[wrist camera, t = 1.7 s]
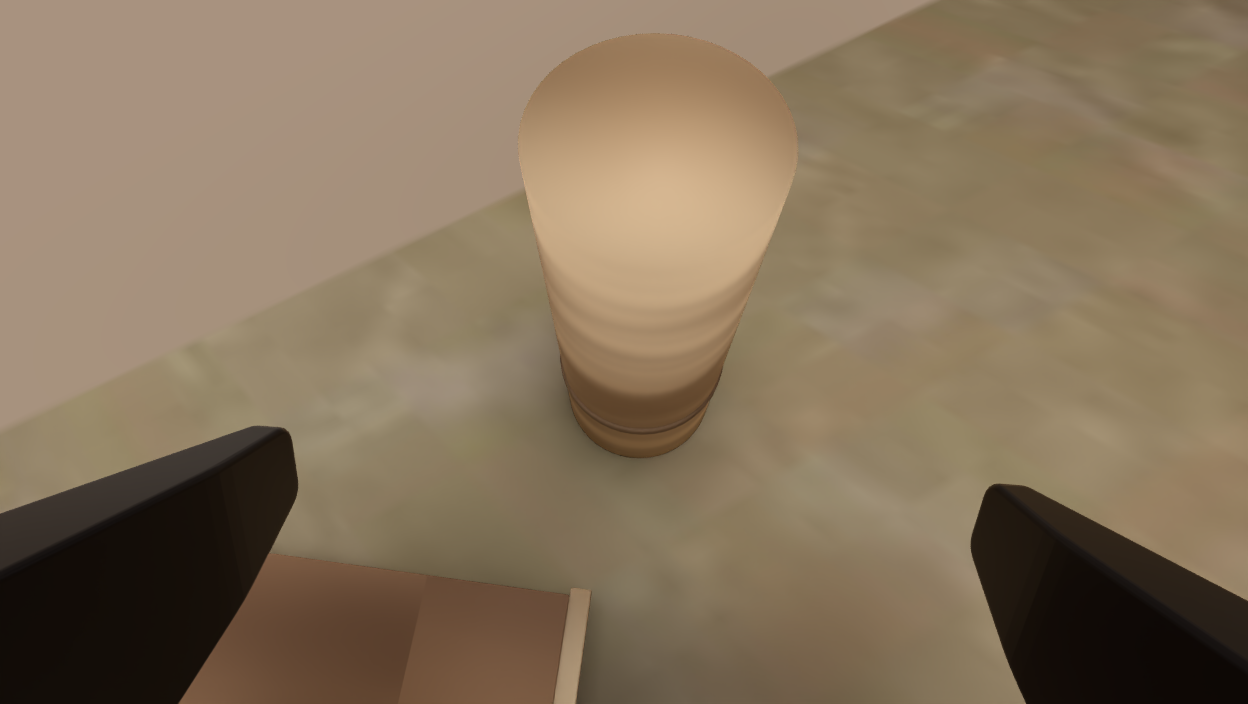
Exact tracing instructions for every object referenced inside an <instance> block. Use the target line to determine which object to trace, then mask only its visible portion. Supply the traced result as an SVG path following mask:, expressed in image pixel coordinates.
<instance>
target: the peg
mask: <svg viewBox="0 0 1248 704" xmlns="http://www.w3.org/2000/svg"><path fill="white" fill-rule="evenodd" d="M518 154H519V160H520V165H521V171H522V175H523V180H524V185H525V189H526V194H527V199H528V204H529V208H530V213H531V218H532V222H533V227H534V232H535V237H536V241H537V246H538V251H539V255H540V260H541V265H542V270H543V274H544V279H545V284H546V288H547V293H548V298H549V303H550V307H551V312H552V317H553V321H554V326H555V331H556V336H557V340H558V345H559V350H560V362H561V367H562V373H563V377H564V380H565V383H566V386H567V388H568V392H569V397H570V402H571V406H572V410H573V413H574V416H575V418H576V420H577V422H578V424H579V425H580V427H581V428H582V430H583V431H584V432H585V433H586V434H587V436H588V437H589V438H590V439H592V440H593V441H594V442H595V443H596V444H598V445H599V446H601V447H602V448H604V449H606V450H608V451H610V452H612V453H615V454H618V455H621V456H626V457H633V458H646V457H653V456H658V455H661V454H664V453H667V452H669V451H671V450H673V449H675V448H677V447H678V446H680V445H681V444H683V443H684V442H685V441H686V440H687V439H689V438H690V437H691V435H692V434H693V433H694V432H695V431H696V429H697V428H698V426H699V425H700V423H701V421H702V419H703V417H704V414H705V412H706V409H707V406H708V404H709V401H710V399H711V397H712V396H713V394H714V392H715V389H716V387H717V385H718V382H719V380H720V376H721V373H722V368H723V364H724V361H725V359H726V356H727V353H728V351H729V348H730V345H731V343H732V340H733V338H734V335H735V332H736V330H737V327H738V324H739V322H740V319H741V316H742V314H743V311H744V308H745V306H746V303H747V300H748V298H749V295H750V293H751V290H752V287H753V285H754V282H755V279H756V277H757V274H758V271H759V269H760V266H761V263H762V261H763V258H764V256H765V253H766V250H767V248H768V245H769V242H770V240H771V237H772V234H773V232H774V229H775V226H776V224H777V221H778V218H779V216H780V213H781V211H782V208H783V205H784V203H785V200H786V197H787V195H788V192H789V189H790V187H791V184H792V181H793V178H794V174H795V171H796V167H797V159H798V138H797V133H796V128H795V123H794V120H793V118H792V115H791V112H790V110H789V108H788V106H787V104H786V102H785V100H784V99H783V97H782V95H781V94H780V93H779V91H778V90H777V89H776V87H775V86H774V84H773V83H772V82H771V81H770V80H769V79H768V78H767V77H766V76H765V75H764V74H763V73H762V72H761V71H760V70H758V69H757V68H756V67H755V66H753V65H752V64H751V63H750V62H748V61H746V60H745V59H743V58H742V57H740V56H739V55H737V54H735V53H733V52H731V51H729V50H727V49H725V48H723V47H721V46H718V45H715V44H713V43H710V42H707V41H704V40H700V39H696V38H692V37H688V36H681V35H675V34H660V33H651V34H636V35H629V36H623V37H618V38H614V39H610V40H606V41H603V42H601V43H598V44H595V45H592V46H590V47H588V48H586V49H584V50H582V51H580V52H578V53H576V54H574V55H573V56H571V57H570V58H568V59H566V60H565V61H563V62H562V63H561V64H559V65H558V66H557V67H556V68H555V69H553V71H551V72H550V73H549V74H548V75H547V76H546V77H545V78H544V80H543V81H542V82H541V83H540V84H539V86H538V87H537V88H536V90H535V91H534V93H533V94H532V96H531V98H530V100H529V102H528V104H527V106H526V108H525V110H524V113H523V116H522V120H521V122H520V128H519V135H518Z"/></svg>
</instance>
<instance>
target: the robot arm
mask: <svg viewBox="0 0 1248 704" xmlns="http://www.w3.org/2000/svg"><path fill="white" fill-rule="evenodd" d="M297 492H298V477H297V470H296V464H295V457H294V450H293V443H292V439H291V436H290V434H289V432H288V431H287V430H286V429H284V428H281V427H269V426H251V427H248V428H245V429H243V430H240V431H237V432H234V433H231V434H228V435H225V436H222V437H220V438H217V439H214V440H211V441H208V442H205V443H202V444H199V445H197V446H194V447H191V448H188V449H185V450H182V451H179V452H176V453H173V454H171V455H168V456H165V457H162V458H159V459H156V460H153V461H150V462H148V463H145V464H142V465H139V466H136V467H133V468H130V469H127V470H125V471H122V472H119V473H116V474H113V475H110V476H107V477H104V478H101V479H99V480H96V481H93V482H90V483H87V484H84V485H81V486H78V487H76V488H73V489H70V490H67V491H64V492H61V493H58V494H55V495H53V496H50V497H47V498H44V499H41V500H38V501H35V502H32V503H29V504H27V505H24V506H21V507H18V508H15V509H12V510H9V511H6V512H4V513H1V514H0V704H179V702H180V701H181V699H182V698H183V696H184V695H185V693H186V691H187V690H188V688H189V687H190V685H191V684H192V682H193V681H194V679H195V677H196V676H197V674H198V673H199V671H200V670H201V668H202V667H203V665H204V663H205V662H206V660H207V659H208V657H209V656H210V654H211V653H212V651H213V649H214V648H215V646H216V645H217V643H218V642H219V640H220V639H221V637H222V635H223V634H224V632H225V631H226V629H227V628H228V626H229V625H230V623H231V621H232V620H233V618H234V617H235V615H236V613H237V612H238V610H239V608H240V607H241V605H242V604H243V602H244V600H245V598H246V597H247V595H248V593H249V591H250V589H251V587H252V586H253V584H254V582H255V580H256V578H257V576H258V574H259V572H260V570H261V568H262V566H263V564H264V562H265V560H266V558H267V556H268V554H269V552H270V550H271V548H272V546H273V544H274V542H275V540H276V538H277V536H278V534H279V532H280V530H281V528H282V526H283V524H284V522H285V520H286V518H287V516H288V514H289V512H290V510H291V508H292V506H293V504H294V502H295V499H296V496H297ZM971 553H972V558H973V561H974V564H975V567H976V570H977V573H978V576H979V579H980V582H981V585H982V588H983V591H984V594H985V597H986V600H987V603H988V606H989V609H990V611H991V614H992V617H993V620H994V623H995V626H996V629H997V632H998V635H999V638H1000V641H1001V644H1002V647H1003V650H1004V653H1005V655H1006V658H1007V661H1008V663H1009V666H1010V668H1011V671H1012V673H1013V675H1014V678H1015V680H1016V682H1017V685H1018V687H1019V689H1020V691H1021V693H1022V696H1023V698H1024V700H1025V702H1026V704H1248V601H1247V600H1245V599H1243V598H1241V597H1239V596H1237V595H1235V594H1233V593H1231V592H1229V591H1228V590H1226V589H1224V588H1222V587H1220V586H1218V585H1216V584H1214V583H1212V582H1210V581H1208V580H1206V579H1204V578H1203V577H1201V576H1199V575H1197V574H1195V573H1193V572H1191V571H1189V570H1187V569H1185V568H1183V567H1181V566H1179V565H1177V564H1176V563H1174V562H1172V561H1170V560H1168V559H1166V558H1164V557H1162V556H1160V555H1158V554H1156V553H1154V552H1152V551H1150V550H1149V549H1147V548H1145V547H1143V546H1141V545H1139V544H1137V543H1135V542H1133V541H1131V540H1129V539H1127V538H1125V537H1124V536H1122V535H1120V534H1118V533H1116V532H1114V531H1112V530H1110V529H1108V528H1106V527H1104V526H1102V525H1100V524H1098V523H1097V522H1095V521H1093V520H1091V519H1089V518H1087V517H1085V516H1083V515H1081V514H1079V513H1077V512H1075V511H1073V510H1071V509H1070V508H1068V507H1066V506H1064V505H1062V504H1060V503H1058V502H1056V501H1054V500H1052V499H1050V498H1048V497H1046V496H1045V495H1043V494H1041V493H1039V492H1037V491H1035V490H1033V489H1031V488H1029V487H1026V486H1022V485H1010V484H993V485H992V486H990V487H989V488H988V489H987V490H986V492H985V495H984V497H983V501H982V504H981V507H980V510H979V513H978V517H977V520H976V523H975V526H974V529H973V533H972V537H971Z"/></svg>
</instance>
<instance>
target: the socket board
mask: <svg viewBox="0 0 1248 704" xmlns="http://www.w3.org/2000/svg"><path fill="white" fill-rule="evenodd" d="M591 593H592V591H591V590H586V589H579V588H571V591H570V596H569V595H566V594H559V593H552V592H544V591H537V590H530V589H523V588H516V587H509V586H501V585H494V584H487V583H480V582H473V581H465V580H458V579H451V578H444V577H437V576H430V575H422V574H415V573H408V572H401V571H394V570H386V569H379V568H372V567H365V566H358V565H351V564H343V563H336V562H329V561H322V560H315V559H307V558H300V557H293V556H286V555H279V554H272V553H269V554H268V556H267V558H266V560H265V562H264V564H263V566H262V568H261V570H260V572H259V574H258V576H257V578H256V580H255V582H254V584H253V586H252V587H251V589H250V591H249V593H248V595H247V597H246V598H245V600H244V602H243V604H242V605H241V607H240V608H239V610H238V612H237V613H236V615H235V617H234V618H233V620H232V621H231V623H230V625H229V626H228V628H227V629H226V631H225V632H224V634H223V635H222V637H221V639H220V640H219V642H218V643H217V645H216V646H215V648H214V649H213V651H212V653H211V654H210V656H209V657H208V659H207V660H206V662H205V663H204V665H203V667H202V668H201V670H200V671H199V673H198V674H197V676H196V677H195V679H194V681H193V682H192V684H191V685H190V687H189V688H188V690H187V691H186V693H185V695H184V696H183V698H182V699H181V701H180V702H179V704H576V699H577V692H578V685H579V678H580V671H581V664H582V656H583V649H584V642H585V635H586V628H587V621H588V614H589V607H590V600H591Z"/></svg>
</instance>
